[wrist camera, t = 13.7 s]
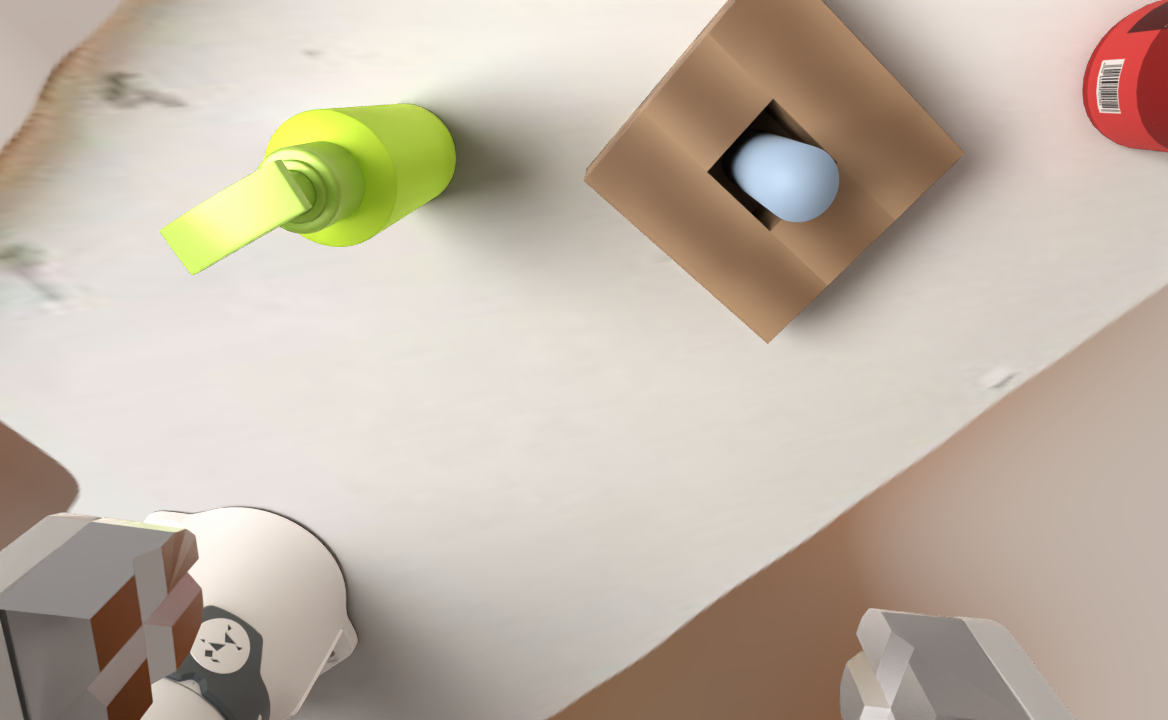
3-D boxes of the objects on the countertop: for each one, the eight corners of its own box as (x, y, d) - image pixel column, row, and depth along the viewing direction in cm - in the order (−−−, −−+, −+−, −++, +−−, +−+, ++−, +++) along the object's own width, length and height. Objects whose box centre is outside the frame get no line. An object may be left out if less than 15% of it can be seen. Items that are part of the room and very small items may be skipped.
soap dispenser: (327, 141, 42) (111, 181, 24) (423, 85, 41) (273, 80, 22) (381, 227, 44) (218, 326, 26) (474, 175, 43) (374, 241, 24)
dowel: (761, 196, 42) (814, 234, 32) (712, 173, 42) (749, 204, 32) (789, 143, 41) (853, 164, 31) (738, 119, 41) (787, 132, 31)
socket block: (747, 312, 46) (767, 343, 40) (586, 168, 43) (584, 180, 37) (916, 144, 42) (964, 153, 36) (751, -28, 38) (776, -49, 33)
